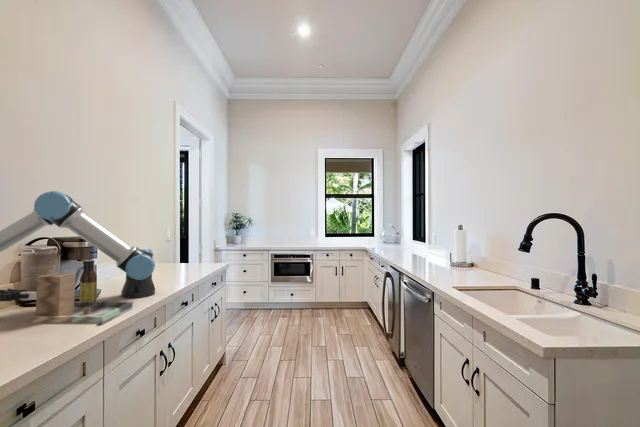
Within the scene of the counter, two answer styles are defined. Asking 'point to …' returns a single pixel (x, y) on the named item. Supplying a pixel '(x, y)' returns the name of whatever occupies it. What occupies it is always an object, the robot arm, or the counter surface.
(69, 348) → the counter surface
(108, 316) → the bay end wall
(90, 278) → the sauce bottle
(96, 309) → the grey flat tray
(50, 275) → the walnut block
